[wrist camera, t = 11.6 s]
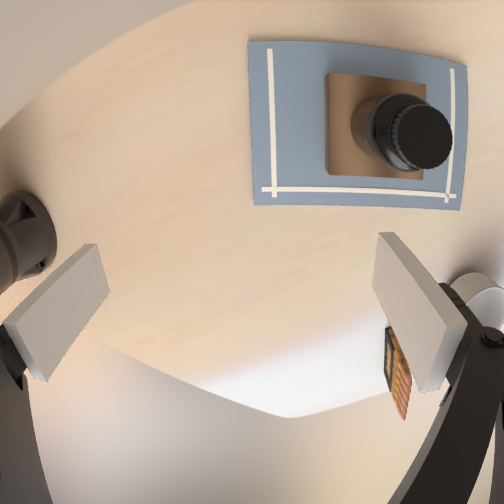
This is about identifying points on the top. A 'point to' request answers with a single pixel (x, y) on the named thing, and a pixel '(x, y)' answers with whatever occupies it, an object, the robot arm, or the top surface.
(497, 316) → the teacup
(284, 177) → the board
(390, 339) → the ammunition clip
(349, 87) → the walnut plinth
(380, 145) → the supplement bottle
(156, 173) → the top surface
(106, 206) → the top surface
